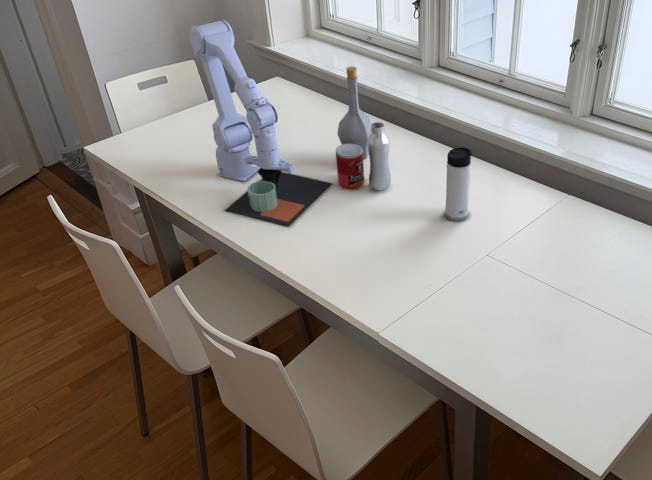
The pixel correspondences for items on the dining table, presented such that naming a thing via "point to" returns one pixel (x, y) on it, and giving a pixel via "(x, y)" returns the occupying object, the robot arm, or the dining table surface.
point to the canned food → (350, 166)
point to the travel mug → (458, 183)
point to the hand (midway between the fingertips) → (273, 190)
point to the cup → (262, 196)
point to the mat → (284, 199)
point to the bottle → (354, 118)
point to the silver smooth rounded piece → (378, 157)
